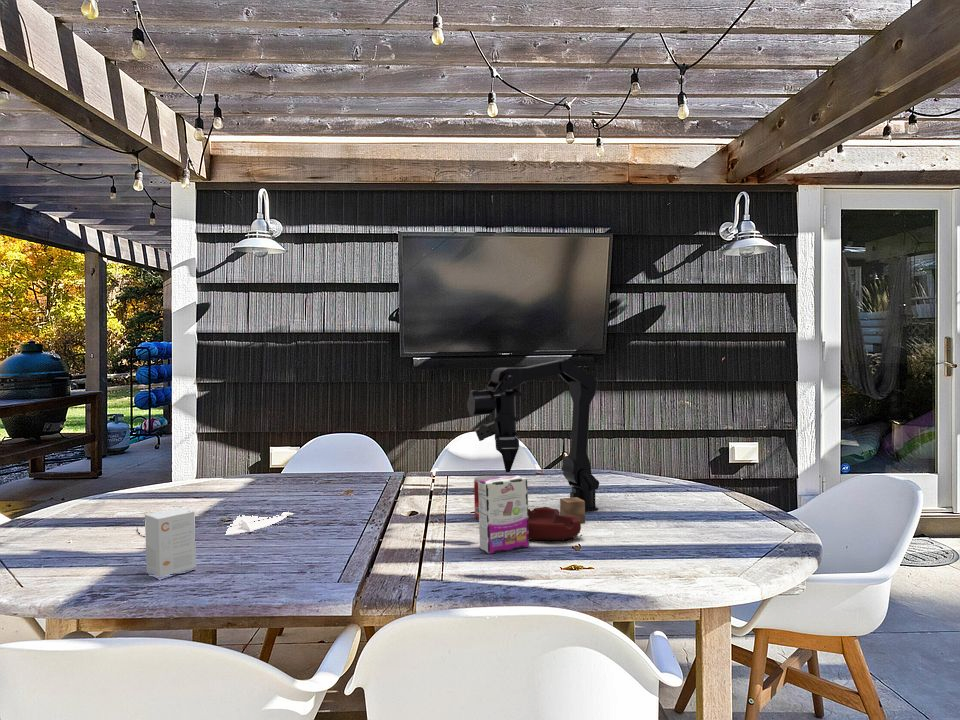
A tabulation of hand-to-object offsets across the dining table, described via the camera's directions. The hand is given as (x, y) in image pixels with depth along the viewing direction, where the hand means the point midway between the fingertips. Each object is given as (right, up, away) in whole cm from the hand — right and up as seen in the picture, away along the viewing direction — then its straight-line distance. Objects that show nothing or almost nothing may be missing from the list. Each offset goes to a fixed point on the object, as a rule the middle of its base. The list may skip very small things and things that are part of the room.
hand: (507, 469), depth 182 cm
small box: (-74, -16, -41) cm, 86 cm away
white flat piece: (-81, -15, +1) cm, 83 cm away
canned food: (-5, -14, +1) cm, 15 cm away
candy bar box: (-2, -14, -27) cm, 31 cm away
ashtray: (+8, -14, -17) cm, 23 cm away
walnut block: (+18, -14, -5) cm, 23 cm away
